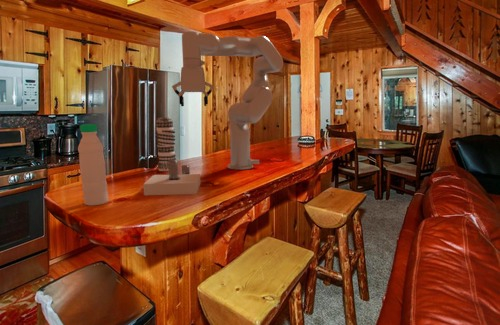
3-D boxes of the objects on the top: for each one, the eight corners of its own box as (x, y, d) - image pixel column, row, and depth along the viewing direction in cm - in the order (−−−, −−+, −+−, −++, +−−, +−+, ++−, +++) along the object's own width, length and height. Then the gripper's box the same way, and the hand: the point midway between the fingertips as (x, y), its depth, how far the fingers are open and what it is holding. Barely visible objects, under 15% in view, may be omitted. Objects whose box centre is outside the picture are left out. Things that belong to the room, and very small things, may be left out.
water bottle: (83, 207, 92) (73, 125, 87) (85, 201, 98) (76, 124, 94) (108, 204, 95) (100, 124, 90) (108, 198, 101) (101, 123, 96)
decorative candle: (180, 167, 151) (177, 117, 146) (171, 171, 142) (168, 118, 137) (163, 167, 153) (160, 117, 148) (154, 170, 144) (150, 118, 139)
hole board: (200, 183, 119) (199, 174, 118) (196, 194, 105) (196, 182, 105) (154, 185, 118) (153, 175, 117) (144, 195, 104) (143, 184, 103)
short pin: (190, 177, 130) (189, 165, 129) (189, 179, 127) (188, 166, 126) (182, 177, 130) (182, 165, 129) (181, 179, 127) (181, 166, 126)
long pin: (179, 188, 113) (177, 159, 111) (177, 190, 110) (176, 160, 108) (170, 188, 113) (169, 159, 111) (169, 190, 110) (167, 160, 108)
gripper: (213, 65, 129) (214, 106, 132) (172, 65, 128) (174, 106, 131) (212, 62, 122) (213, 106, 125) (169, 62, 121) (171, 106, 124)
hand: (193, 106), depth 128 cm, fingers open, 9 cm apart
